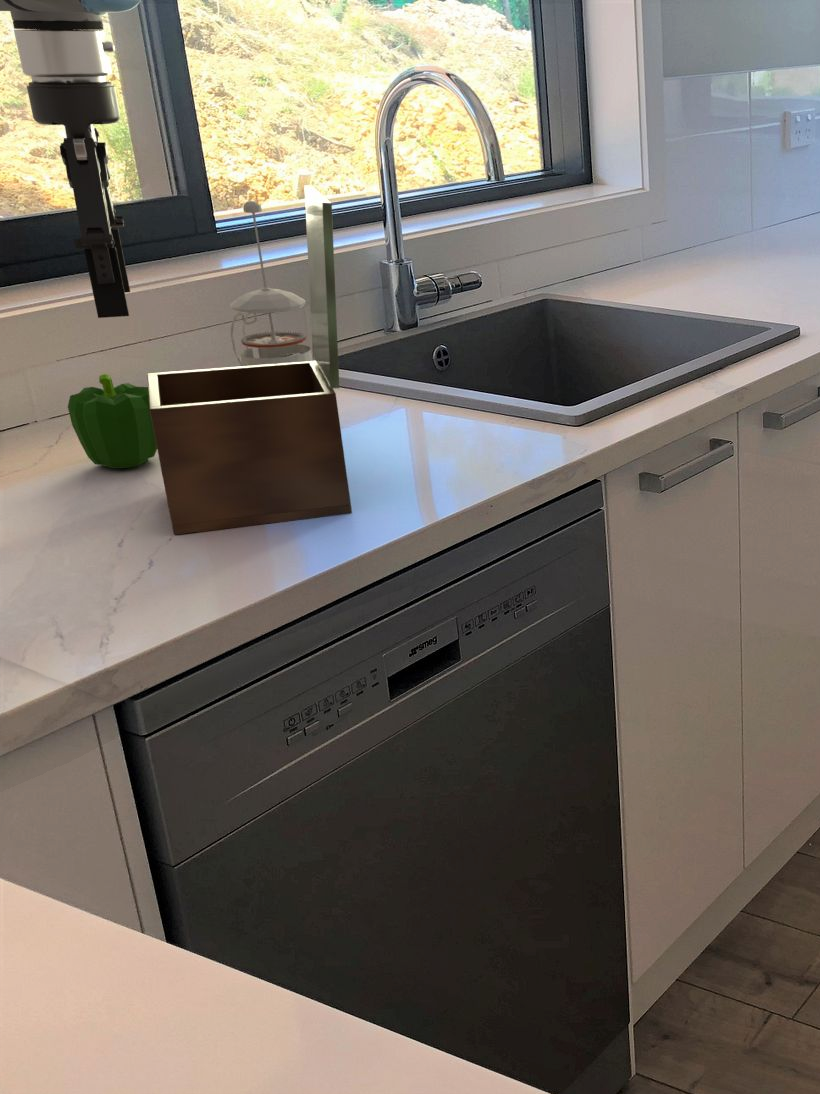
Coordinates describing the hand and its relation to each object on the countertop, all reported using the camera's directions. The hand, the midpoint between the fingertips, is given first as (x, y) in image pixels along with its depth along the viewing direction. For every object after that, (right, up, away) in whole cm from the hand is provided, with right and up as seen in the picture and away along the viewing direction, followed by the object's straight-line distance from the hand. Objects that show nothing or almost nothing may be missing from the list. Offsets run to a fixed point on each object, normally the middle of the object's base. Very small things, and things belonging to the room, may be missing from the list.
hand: (115, 304), depth 141 cm
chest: (+16, -20, -4) cm, 26 cm away
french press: (+7, -8, +25) cm, 27 cm away
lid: (+24, 0, -9) cm, 25 cm away
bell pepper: (-3, -15, +7) cm, 17 cm away
